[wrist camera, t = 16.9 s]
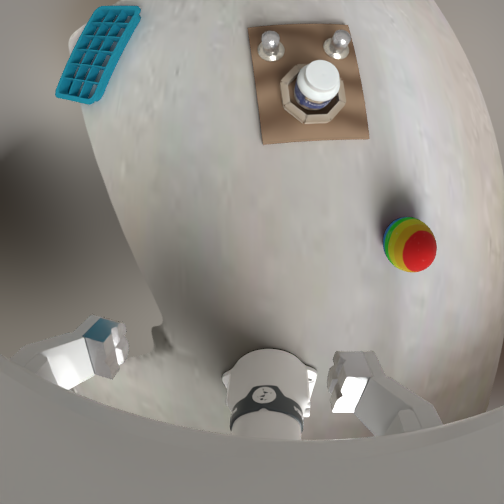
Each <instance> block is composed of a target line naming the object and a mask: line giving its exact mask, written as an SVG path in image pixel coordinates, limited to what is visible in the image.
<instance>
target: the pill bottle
mask: <svg viewBox="0 0 504 504" xmlns="http://www.w3.org/2000/svg"><path fill="white" fill-rule="evenodd" d="M339 88H340V80H339V72H338V70H337V68H336V67H335V66H334V65H333V64H332V63H330V62H328V61H325V60H315V61H313V62H311V63H310V64H308V65H306V66H304V67H303V68H302V69H301V70H300V72H299V74H298V76H297V80H296V84H295V88H294V97H295V99H296V101H297V103H298V104H299V105H300V106H301V107H303V108H305V109H307V110H320V109H322V108H324V107H325V106H326V105H327V104H328V103H329V102H330V101H331V100H332V99H333V98H334V97H335V96H336V94H337V93H338V91H339Z"/></svg>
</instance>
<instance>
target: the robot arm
mask: <svg viewBox="0 0 504 504" xmlns="http://www.w3.org/2000/svg"><path fill="white" fill-rule="evenodd" d="M126 332H127V331H126V326H125V324H124V323H123V322H119V321H115V320H112V319H108V318H104V317H100V316H96V315H91V316H89V317H88V318H87V319H86V320H85V321H84V322H83V323H82V324H81V325H80V326H79V327H78V328H77V329H76V330H74V331H73V332H72V333H65V334H62V335H59V336H55V337H52V338H49V339H45V340H42V341H39V342H35V343H32V344H28V345H25V346H23V347H22V348H21V349H20V350H19V351H18V352H17V353H15V354H14V355H13V356H12V357H11V358H10V359H8V358H6V357H4V356H3V355H1V354H0V504H504V406H501V407H499V408H496V409H494V410H491V411H488V412H485V413H482V414H479V415H476V416H473V417H470V418H466V419H463V420H459V421H456V422H452V423H448V424H444V425H443V424H442V422H441V420H440V418H439V416H438V414H437V412H436V410H435V408H434V406H433V405H432V404H431V403H429V402H427V401H426V400H424V399H423V398H421V397H420V396H418V395H417V394H415V393H414V392H412V391H411V390H409V389H408V388H406V387H405V386H403V385H402V384H400V383H399V382H397V381H396V380H394V379H393V378H391V377H386V375H385V373H384V371H383V368H382V366H381V364H380V362H379V360H378V358H377V356H376V354H375V352H374V351H336V352H335V354H334V357H333V362H334V365H333V366H332V367H331V368H330V370H329V373H328V378H327V388H328V392H330V393H331V394H332V395H331V398H330V403H331V408H332V412H354V414H355V415H356V416H357V417H358V418H359V419H360V420H361V422H362V423H363V424H364V425H365V426H366V427H367V428H368V429H369V430H370V431H371V432H372V433H373V434H374V435H375V437H365V438H353V439H336V440H301V433H302V431H303V424H304V418H303V417H309V415H310V405H311V402H310V397H311V394H312V391H313V388H314V384H315V381H316V378H317V371H316V370H315V369H314V368H311V367H309V366H306V365H304V364H303V363H302V362H301V361H300V360H299V359H298V358H297V357H295V356H294V355H292V354H290V353H288V352H285V351H282V350H277V349H261V350H256V351H253V352H250V353H248V354H246V355H244V356H243V357H242V358H240V359H239V360H238V361H237V363H236V364H235V366H234V367H233V368H232V369H231V370H229V371H227V372H225V373H224V374H223V375H222V381H223V383H224V385H225V387H226V389H227V397H226V405H228V407H229V409H230V410H231V412H232V414H231V417H230V430H231V435H230V434H223V433H216V432H210V431H204V430H198V429H193V428H188V427H183V426H179V425H174V424H170V423H166V422H162V421H158V420H154V419H150V418H146V417H143V416H139V415H136V414H133V413H129V412H126V411H123V410H120V409H117V408H114V407H111V406H108V405H105V404H102V403H100V402H97V401H94V400H92V399H89V398H87V397H84V396H82V395H79V394H77V393H75V392H72V391H70V390H68V389H70V388H72V387H74V386H76V385H78V384H79V383H81V382H83V381H85V380H87V379H89V378H90V377H92V376H94V375H95V374H96V375H99V376H102V377H106V378H109V379H113V378H114V377H115V375H116V374H117V372H118V371H119V364H122V363H124V362H125V360H126V359H127V356H128V353H129V343H128V340H127V339H126V337H125V336H124V335H125V333H126ZM309 378H311V379H309Z"/></svg>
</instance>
